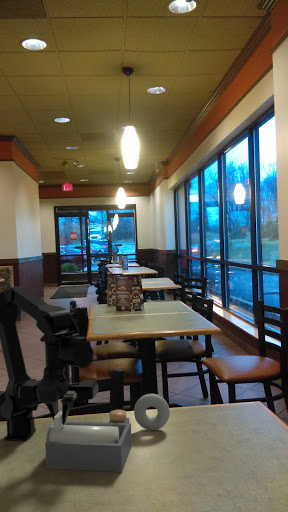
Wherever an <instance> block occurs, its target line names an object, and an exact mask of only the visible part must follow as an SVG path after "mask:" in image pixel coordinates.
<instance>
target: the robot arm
mask: <svg viewBox="0 0 288 512" xmlns="http://www.w3.org/2000/svg"><path fill="white" fill-rule="evenodd" d="M19 309H20V310H21V311H23V312H24V313H25V314H27V315H28V316H30V317H31V318H33V319H34V320H35V323H36V324H35V325H36V327H37V329H38V330H39V331H40V332H41V333H42V334H43V335H42V336H41V338H39V341H40V343H41V342H42V343H44V351H45V352H44V353H45V367H44V368H43V375H42V379H40V380H39V379H38V380H37V379H36V378H32V377H30V376H29V374H28V372H27V368H26V363H25V360H24V359H25V358H24V355H23V351H22V346H21V341H20V338H19V333H18V328H17V321H18V318H19V315H20V310H19ZM79 330H80V329H79V327H78V325H77V324H76V322H75V320H74V317H73V316H72V314H71V312H70V311H69V309H67V308H65V307H61V306H57V305H53V304H49V303H47V302H45V301H44V300H42V299H40V297H38V296H36V295H35V294H33V293H31V291H29V290H27V288H26V287H25V286H22V285H19V286H18V285H17V286H9V287H7V288H6V289H4V290H3V291H2V292H0V345H1V349H2V354H3V358H4V363H5V367H6V373H7V378H8V382H7V385H6V386H5V390H4V391H5V392H4V394H5V399H4V401H3V403H2V404H1V405H0V415H1V417H3V418H5V419H6V435H5V436H4V438H3V439H4V440H5V441H27V440H28V439H29V438H31V436H32V435H33V434H34V433H35V432H36V431H37V428H36V425H35V416H33V412H34V411H35V412H36V411H37V410H38V407H39V403H43V404H44V405H46V408H47V409H48V411H49V414H50V415H51V418H52V420H53V421H54V417H55V416H56V415H57V413H58V412H59V399H60V397H62V396H63V398H61V400H60V402H61V407H62V409H61V411H62V424H63V425H64V424H65V423H66V421H67V420H68V417H69V413H70V410H71V406H72V404H73V403H74V401H75V400H76V399H77V398H78V399H79V400H93V399H94V398H95V397H96V395H97V394H98V393H99V384H98V382H97V381H96V380H82V381H81V382H80V383H78V384H75V385H74V384H72V383H73V382H72V381H73V380H72V377H71V370H70V369H71V367H72V366H73V367H77V368H81V369H84V368H86V367H88V366H89V365H90V364H91V363H92V361H93V358H94V349H93V347H92V346H91V344H90V343H88V342H87V339H86V337H85V336H82V335H81V332H80V331H79Z"/></svg>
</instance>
